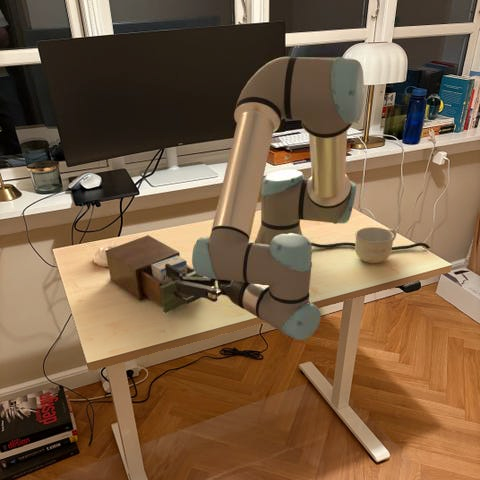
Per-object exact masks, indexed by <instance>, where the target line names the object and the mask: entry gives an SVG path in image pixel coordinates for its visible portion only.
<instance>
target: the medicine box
mask: <svg viewBox="0 0 480 480" xmlns="http://www.w3.org/2000/svg"><path fill="white" fill-rule="evenodd" d="M187 263H188V262H187V260H185V259H184V258H183V257H181V256H178V255H177V256H174V257H171V258H169V259H166V260H163V261H160V262H157V263H155V264H152V265H151V267H152V274H153V278H155V279H156V280H158V281H160V282H161V283H162V285H164V284H166V283H169V282H171V281H172V280H171V278H170V277H169V276H167V275H166V269H165V264H170V265H171V266H173V267H175V268H176V269H178V270H180V271H182V272H183V273H185V275H187V274H188V273H187V265H188V264H187Z"/></svg>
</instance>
